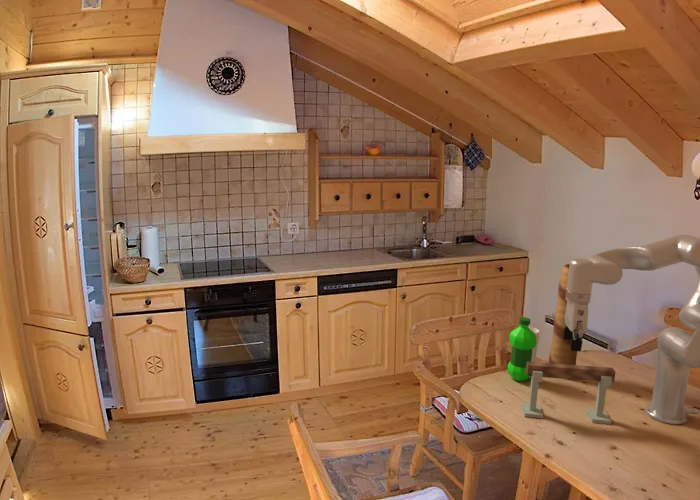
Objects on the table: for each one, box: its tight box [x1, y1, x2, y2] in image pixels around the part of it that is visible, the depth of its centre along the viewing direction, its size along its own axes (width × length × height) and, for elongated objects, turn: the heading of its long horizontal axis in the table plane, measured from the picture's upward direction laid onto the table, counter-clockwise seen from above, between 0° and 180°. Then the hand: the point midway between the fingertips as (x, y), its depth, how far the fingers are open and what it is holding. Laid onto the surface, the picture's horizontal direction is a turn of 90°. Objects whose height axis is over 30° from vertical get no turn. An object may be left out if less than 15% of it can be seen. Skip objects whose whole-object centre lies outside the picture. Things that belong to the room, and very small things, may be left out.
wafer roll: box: [548, 263, 578, 365], centre depth 207 cm, size 10×11×45 cm
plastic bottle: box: [507, 316, 537, 382], centre depth 204 cm, size 10×10×25 cm
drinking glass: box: [528, 326, 540, 362], centre depth 219 cm, size 7×7×15 cm
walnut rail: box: [526, 361, 616, 384], centre depth 176 cm, size 28×3×4 cm, turn 82°
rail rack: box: [520, 371, 612, 425], centre depth 178 cm, size 28×7×17 cm, turn 82°
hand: (571, 345), depth 174 cm, fingers open, 9 cm apart
